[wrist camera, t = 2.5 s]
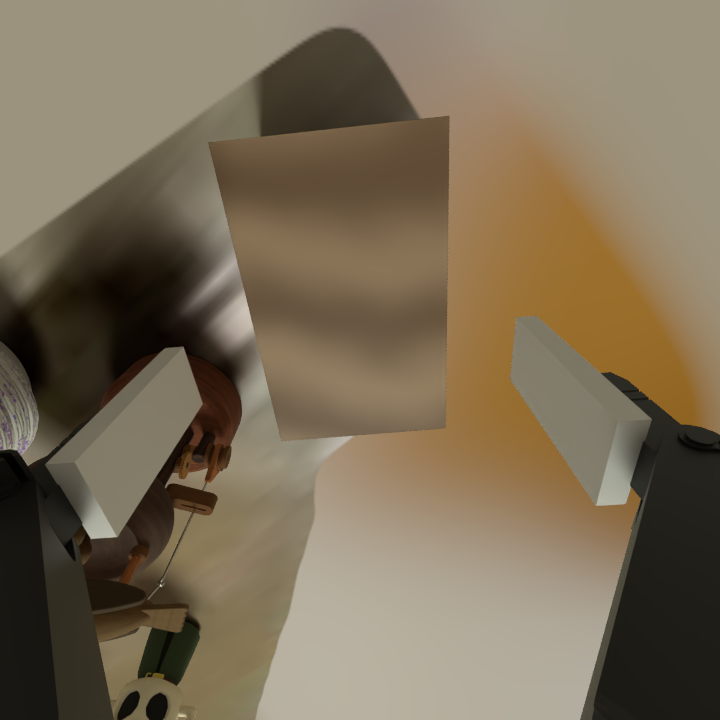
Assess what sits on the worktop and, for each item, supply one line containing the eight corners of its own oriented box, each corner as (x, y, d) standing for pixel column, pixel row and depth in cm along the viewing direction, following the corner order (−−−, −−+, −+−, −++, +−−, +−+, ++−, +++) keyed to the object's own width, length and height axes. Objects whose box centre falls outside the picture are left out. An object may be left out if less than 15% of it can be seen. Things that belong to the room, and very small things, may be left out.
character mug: (220, 617, 50) (181, 754, 39) (218, 646, 54) (181, 780, 42) (133, 608, 49) (66, 746, 38) (136, 637, 52) (75, 773, 41)
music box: (254, 348, 32) (138, 617, 15) (266, 444, 38) (193, 712, 21) (64, 342, 31) (-272, 611, 15) (107, 440, 37) (-97, 710, 21)
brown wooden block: (260, 146, 25) (208, 142, 16) (416, 128, 25) (449, 115, 16) (301, 362, 32) (281, 441, 24) (421, 352, 32) (445, 428, 23)
